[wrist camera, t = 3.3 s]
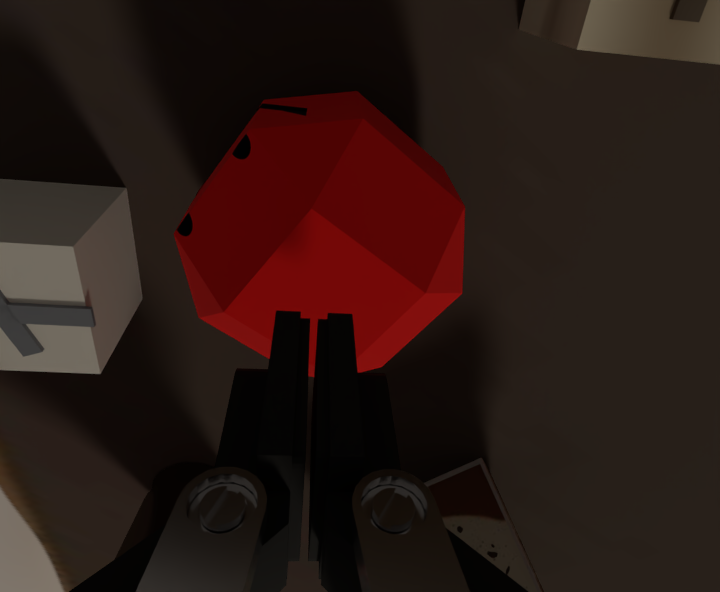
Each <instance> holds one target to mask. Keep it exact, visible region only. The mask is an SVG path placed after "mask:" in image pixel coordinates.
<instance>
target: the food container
mask: <svg viewBox="0 0 720 592" xmlns="http://www.w3.org/2000/svg"><path fill="white" fill-rule="evenodd" d="M424 484H425V485H426V486H427V487H428V488H429V490H430V491H431V493H432V495H433V497H434V498H435V501H436V504H437V506H438V509H439V511H440V514H441V517H442V519H443V522H444V525H445V527H446V528H447V529H449V530H450V531H451V532H452V533H454V534H455V535H456V536H458V537H459V538H460V539H461V540H463V541H464V542H465V543H467V544H468V545H469V546H470V547H472V548H473V549H474V550H476V551H477V552H478V553H479V554H481V555H482V556H483V557H485V558H486V559H487V560H488V561H490V562H491V563H492V564H494V565H495V566H496V567H498V568H499V569H500V570H501V571H503V572H504V573H505V574H507V575H508V576H509V577H510V578H512V579H513V580H514V581H516V582H517V583H518V584H519V585H521V586H522V587H523V588H525V589H526V590H527V591H528V592H544V591H543V589H542V586H541V584H540V582H539V580H538V578H537V575H536V573H535V571H534V569H533V567H532V564H531V562H530V560H529V558H528V555H527V553H526V551H525V549H524V547H523V544H522V542H521V540H520V538H519V536H518V533H517V531H516V529H515V527H514V524H513V522H512V520H511V518H510V516H509V513H508V511H507V509H506V507H505V505H504V502H503V500H502V498H501V496H500V493H499V491H498V489H497V487H496V485H495V482H494V480H493V478H492V476H491V474H490V471H489V469H488V467H487V465H486V463H485V462H484V460H483V459H482V458H479V459H477V460H475V461H473V462H470V463H468V464H466V465H463V466H461V467H459V468H457V469H454V470H452V471H450V472H447V473H445V474H443V475H441V476H438V477H436V478H434V479H432V480H429V481H427V482H425V483H424Z"/></svg>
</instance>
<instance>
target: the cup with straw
mask: <svg viewBox="0 0 720 592" xmlns="http://www.w3.org/2000/svg"><path fill="white" fill-rule="evenodd" d="M210 469H215V468H214V467H211V466H208V465H204V464H199V463H181V464H176V465H172V466H169V467H167V468H165V469H163V470H162V471H160V472H159V473H158V474H157V475H156V477H155V478H154V480H153V483H152V489H151V490H150V491H149V492H148V493H147V495H146V497H145V498H144V500H143V502H142V504H141V506H140V508H139V510H138V512H137V514H136V517H135V519H134V521H133V523H132V525H131V527H130V529H129V531H128V533H127V535H126V537H125V539H124V541H123V543H122V545H121V547H120V549H119V551H118V553H117V555H116V557H115V559H116V558H118V557H119V556H121V555H122V554H124V553H125V552H126V551H128V550H129V549H131V548H132V547H134V546H135V545H136V544H138V543H139V542H141V541H142V540H144V539H145V538H147V537H148V536H149V535H151V534H152V533H154V532H155V531H157V530H158V529H159V528H161V527H162V526H164V525H165V524H166V523H167V521H168V519H169V517H170V514H171V512H172V510H173V508H174V506H175V503H176V501H177V499H178V497H179V495H180V493H181V492H182V490H183V489H184V487H185V486H186V485H187V484H188V483H189V482H190V481H191V480H192V479H194V478H195V477H196V476H198V475H200V474H202V473H203V472H205V471H207V470H210ZM115 559H114V560H115Z"/></svg>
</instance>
